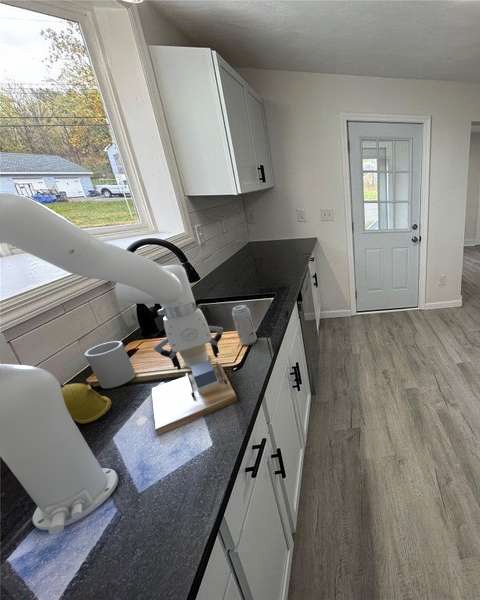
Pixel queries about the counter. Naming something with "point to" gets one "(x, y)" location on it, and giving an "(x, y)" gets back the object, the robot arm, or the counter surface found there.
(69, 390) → the yellow rounded dome part
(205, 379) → the blue and white block
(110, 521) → the counter surface
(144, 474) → the counter surface
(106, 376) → the cup
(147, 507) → the counter surface
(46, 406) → the robot arm
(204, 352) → the coffee cup
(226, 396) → the wooden base
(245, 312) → the energy drink can
